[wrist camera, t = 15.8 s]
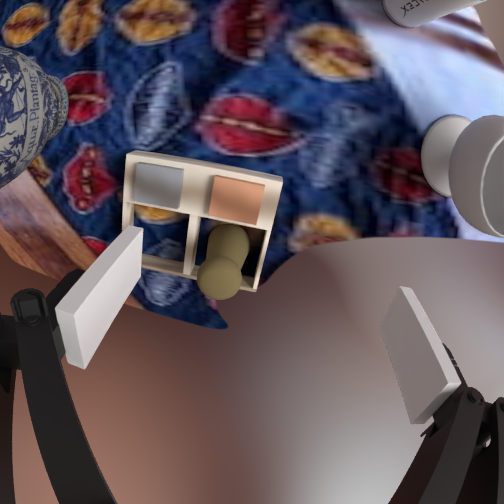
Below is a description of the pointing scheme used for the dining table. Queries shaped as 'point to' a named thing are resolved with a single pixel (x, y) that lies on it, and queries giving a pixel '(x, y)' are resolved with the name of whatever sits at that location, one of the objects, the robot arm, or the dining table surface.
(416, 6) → the travel mug
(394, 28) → the dining table surface
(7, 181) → the decorative vase
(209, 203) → the socket board
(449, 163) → the chalice
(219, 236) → the cork
